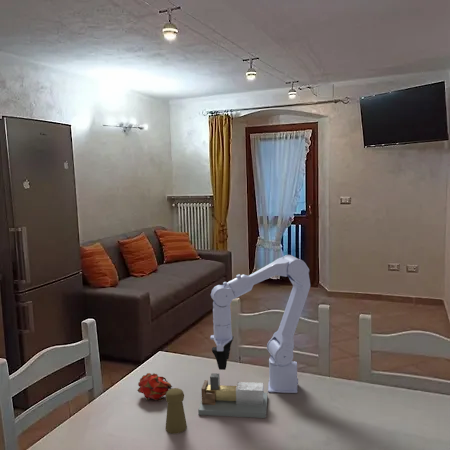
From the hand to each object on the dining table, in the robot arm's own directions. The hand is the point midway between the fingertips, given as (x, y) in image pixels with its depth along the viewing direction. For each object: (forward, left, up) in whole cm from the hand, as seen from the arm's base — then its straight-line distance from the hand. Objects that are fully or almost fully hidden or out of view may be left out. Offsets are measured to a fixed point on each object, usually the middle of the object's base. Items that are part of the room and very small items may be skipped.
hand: (223, 363), depth 139 cm
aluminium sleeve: (-9, +7, -9) cm, 14 cm away
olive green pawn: (+11, +20, -11) cm, 25 cm away
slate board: (-4, +7, -10) cm, 13 cm away
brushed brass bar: (-1, +7, -9) cm, 11 cm away
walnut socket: (+4, +7, -9) cm, 12 cm away
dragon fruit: (+22, +4, -11) cm, 25 cm away
